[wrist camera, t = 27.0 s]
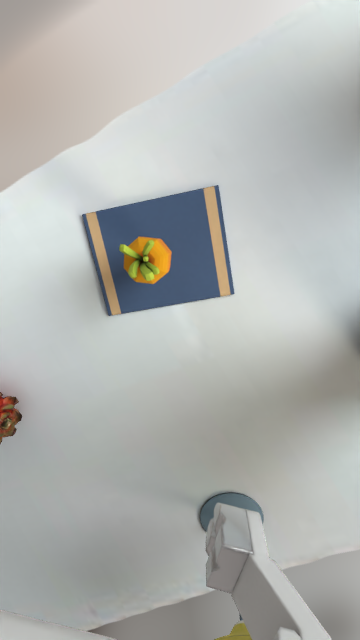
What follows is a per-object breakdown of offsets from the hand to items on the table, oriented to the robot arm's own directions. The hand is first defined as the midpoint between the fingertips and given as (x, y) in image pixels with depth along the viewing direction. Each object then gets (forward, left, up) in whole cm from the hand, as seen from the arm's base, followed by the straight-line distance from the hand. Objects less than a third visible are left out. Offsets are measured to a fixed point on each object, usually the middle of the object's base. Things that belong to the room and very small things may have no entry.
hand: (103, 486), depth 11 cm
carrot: (+1, -6, -33) cm, 34 cm away
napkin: (+1, -6, -33) cm, 34 cm away
